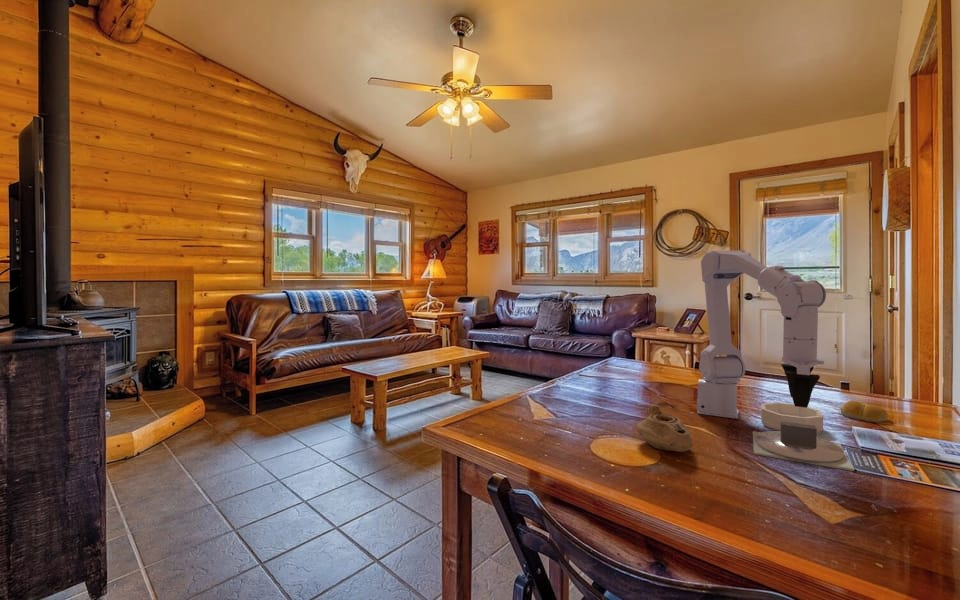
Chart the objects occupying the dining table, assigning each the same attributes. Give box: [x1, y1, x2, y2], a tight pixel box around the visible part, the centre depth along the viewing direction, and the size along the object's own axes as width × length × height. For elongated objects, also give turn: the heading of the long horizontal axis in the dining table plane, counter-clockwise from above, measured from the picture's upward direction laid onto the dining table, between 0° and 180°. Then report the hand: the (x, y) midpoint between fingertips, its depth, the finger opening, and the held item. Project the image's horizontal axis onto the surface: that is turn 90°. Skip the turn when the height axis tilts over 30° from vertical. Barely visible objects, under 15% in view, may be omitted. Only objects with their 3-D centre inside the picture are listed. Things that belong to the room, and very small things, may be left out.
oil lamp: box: [635, 403, 694, 453], centre depth 93 cm, size 11×15×8 cm
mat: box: [752, 430, 855, 472], centre depth 91 cm, size 16×14×1 cm
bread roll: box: [840, 400, 889, 423], centre depth 111 cm, size 8×9×4 cm
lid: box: [756, 421, 845, 463], centre depth 91 cm, size 15×15×5 cm
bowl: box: [760, 401, 824, 435], centre depth 105 cm, size 12×12×4 cm
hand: (798, 401), depth 90 cm, fingers open, 7 cm apart
